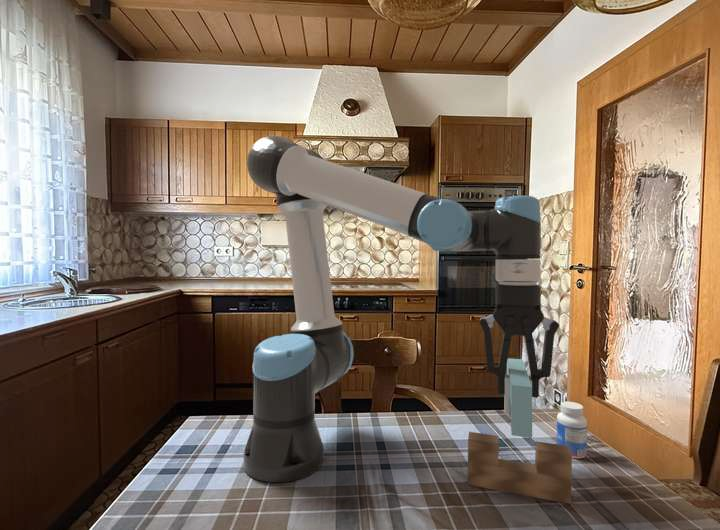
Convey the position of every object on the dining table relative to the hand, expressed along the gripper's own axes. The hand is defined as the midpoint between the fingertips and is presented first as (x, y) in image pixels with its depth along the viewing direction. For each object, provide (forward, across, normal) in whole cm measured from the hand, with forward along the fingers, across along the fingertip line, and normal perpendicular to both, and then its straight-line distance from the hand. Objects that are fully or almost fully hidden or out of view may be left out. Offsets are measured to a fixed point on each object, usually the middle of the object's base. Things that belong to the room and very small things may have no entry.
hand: (517, 412), depth 70 cm
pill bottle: (+12, +11, +13) cm, 21 cm away
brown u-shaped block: (+11, 0, -4) cm, 12 cm away
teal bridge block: (0, 0, 0) cm, 0 cm away
